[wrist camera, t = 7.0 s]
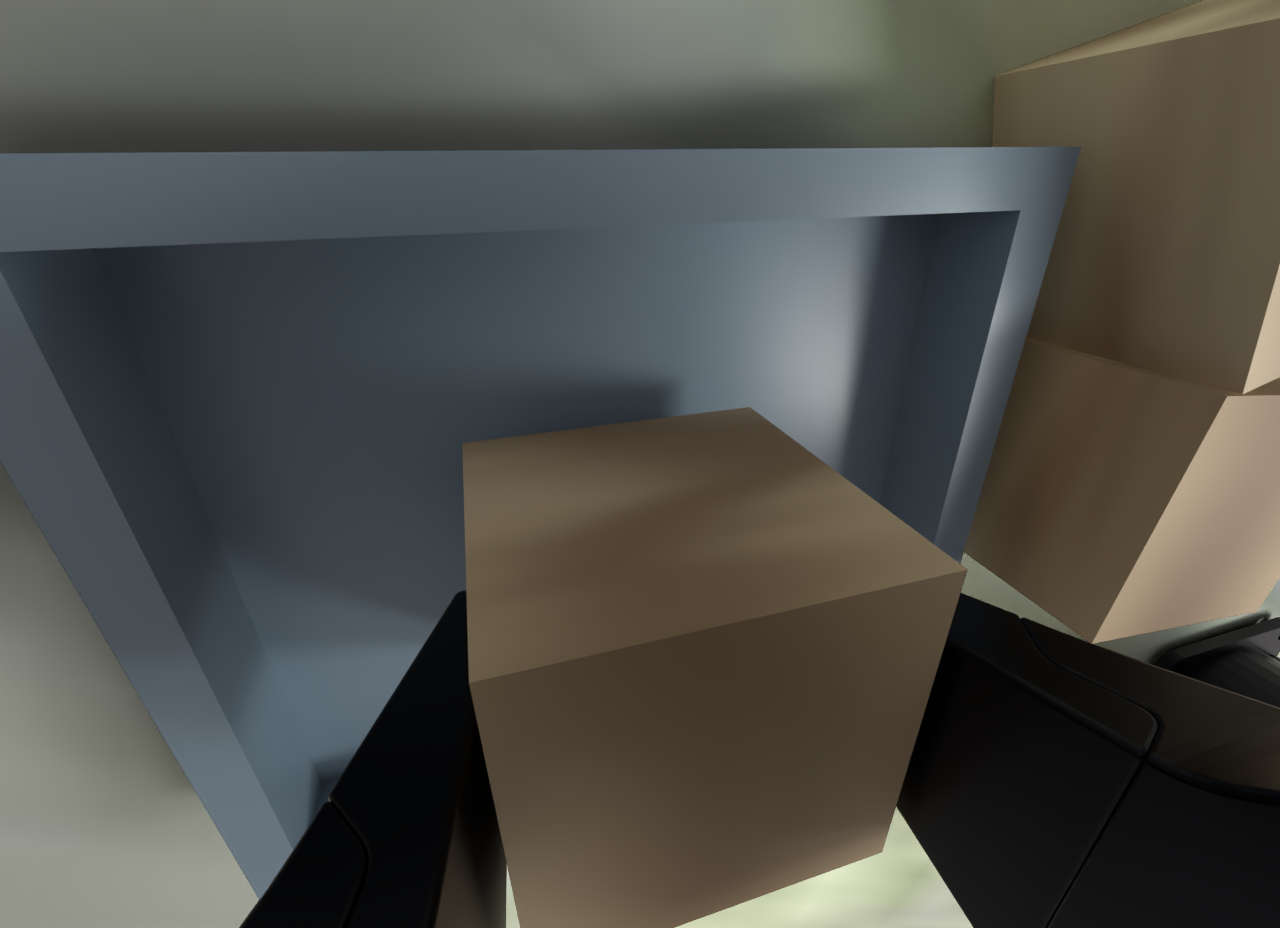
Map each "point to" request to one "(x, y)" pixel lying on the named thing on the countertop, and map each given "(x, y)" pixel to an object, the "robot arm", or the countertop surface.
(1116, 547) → the oak cube
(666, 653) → the oak cube
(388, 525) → the tray
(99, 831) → the countertop surface
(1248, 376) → the oak cube
